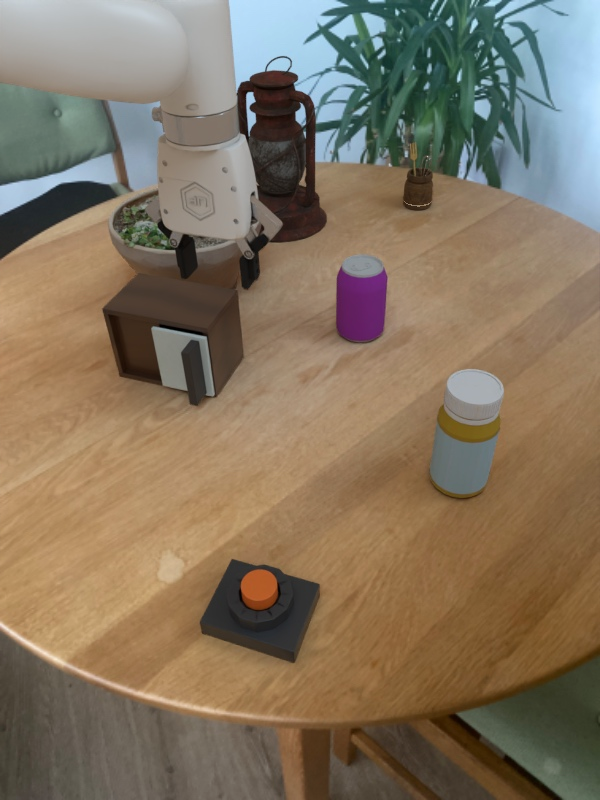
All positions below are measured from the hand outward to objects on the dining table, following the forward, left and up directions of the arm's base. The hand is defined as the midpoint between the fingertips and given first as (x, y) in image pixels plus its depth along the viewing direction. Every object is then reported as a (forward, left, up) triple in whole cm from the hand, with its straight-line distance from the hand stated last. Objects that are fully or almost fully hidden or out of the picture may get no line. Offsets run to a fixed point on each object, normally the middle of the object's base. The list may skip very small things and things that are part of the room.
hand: (219, 277), depth 79 cm
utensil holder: (+10, +72, -22) cm, 76 cm away
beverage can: (+11, +24, -22) cm, 35 cm away
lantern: (-15, +57, -22) cm, 63 cm away
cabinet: (-12, +7, -22) cm, 26 cm away
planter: (-21, +29, -22) cm, 42 cm away
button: (+15, -27, -18) cm, 36 cm away
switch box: (+15, -28, -22) cm, 38 cm away
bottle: (+31, -3, -22) cm, 38 cm away
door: (-8, 0, -21) cm, 22 cm away
